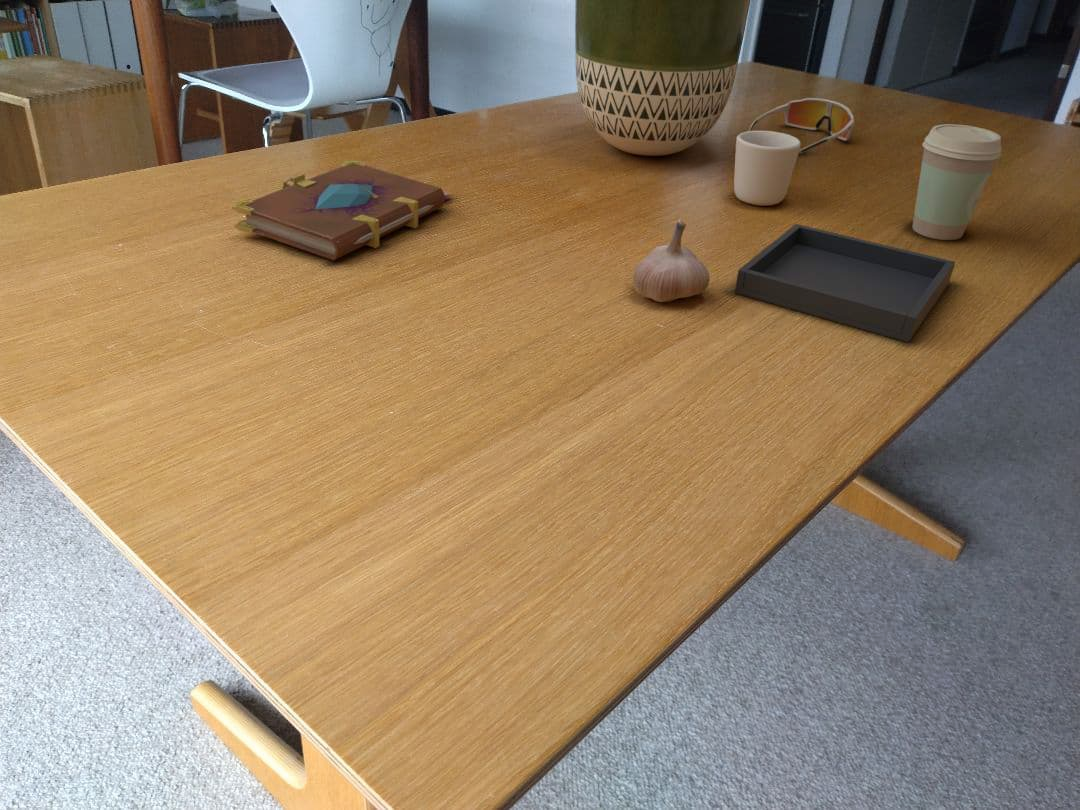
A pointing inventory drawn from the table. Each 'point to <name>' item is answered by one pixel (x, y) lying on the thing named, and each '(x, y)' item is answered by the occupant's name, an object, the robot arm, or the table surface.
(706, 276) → the garlic bulb
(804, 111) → the sunglasses
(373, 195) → the book
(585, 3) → the planter
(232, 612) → the table surface
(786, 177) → the cup
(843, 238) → the slate tray
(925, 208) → the coffee cup
